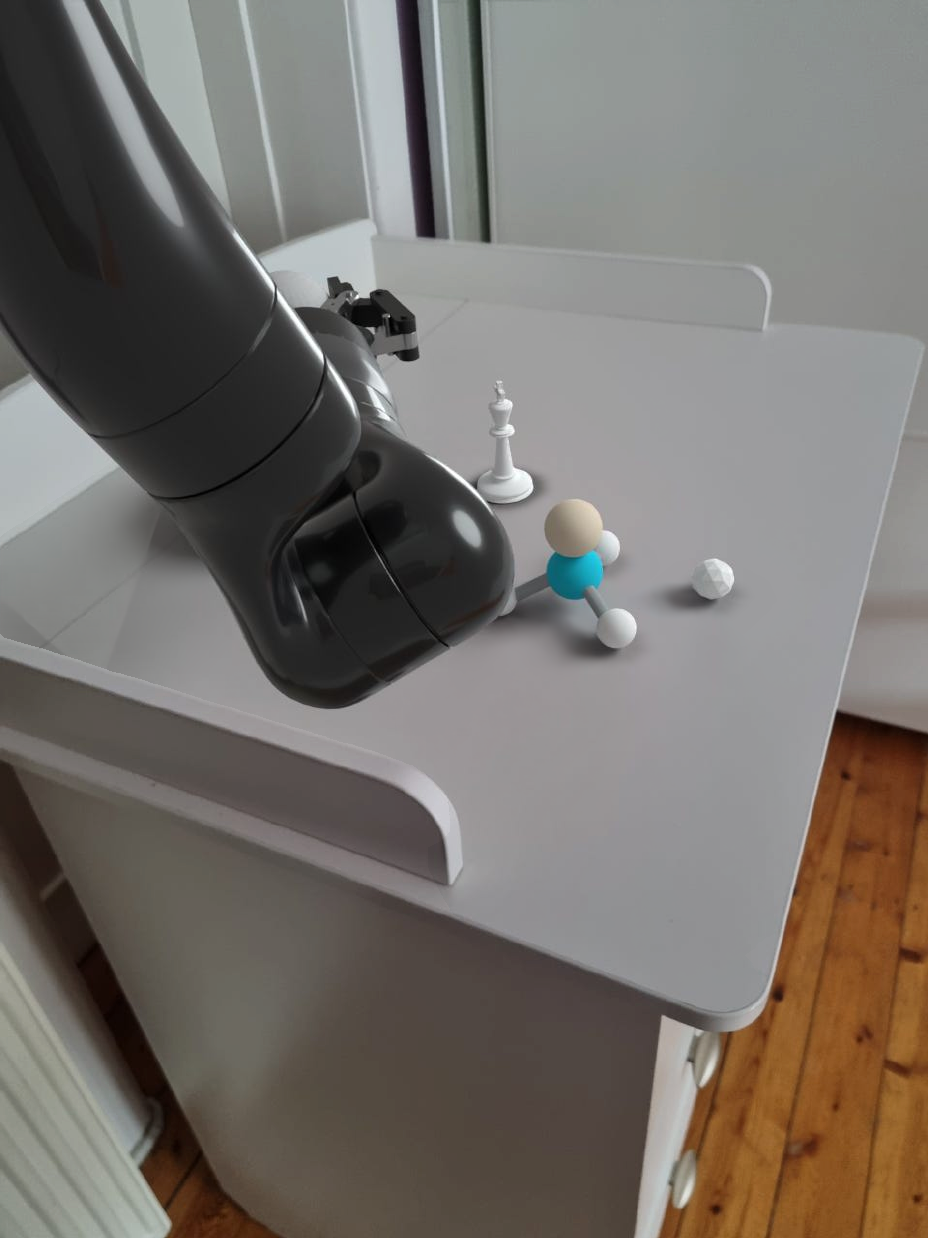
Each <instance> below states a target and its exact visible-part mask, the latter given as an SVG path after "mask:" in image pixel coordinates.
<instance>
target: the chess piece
mask: <svg viewBox="0 0 928 1238" xmlns="http://www.w3.org/2000/svg"><path fill="white" fill-rule="evenodd" d="M493 389H494V390H493V391H494V392H495V394H496V399H493V400H491V401H490V402H489V403H488V404H487V405H488V406H487V407H488V411H489V413H490V415H491V418H492V420H493V422H494V425H491V427H490V428H489V431H488V433H489V435H490V436H491V437H493V438H495V440H496V441H495V458H494V467H493V469H491V470H488V471H486V472H484V473H483V474H481V476H480V477H479V478H478V480H477V482H476V485H477V486H476V490H477V491H478V492H479V493H480V494H481V495H482V497H483V498H484V499H485V500H486V501H487V502H488V503H489V502H490V503H494V504H513V503H515V502H516V503H517V502H519V501H520V502H521V501H522V500H524V499H526V498H528V497H529V496H530V495H531V494H532V492H533V491H534V484H533V478H532V477H531V475H530V474H529V473H528V472H526V471H525V470H522V469H519V468H516V467H514V463H513V458H512V454H511V449H510V441H509V437H511V436H513V435H514V434H515V431H516V430H515V428H514V425H512V424H509V421H510V416H511V413H512V410H513V407H514V404H513V402H512V401H511V400H510V399H507V397H506V395H507V394H506V391H505V390H504V383H503V381H502V380H496V381H495V385H493Z"/></svg>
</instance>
